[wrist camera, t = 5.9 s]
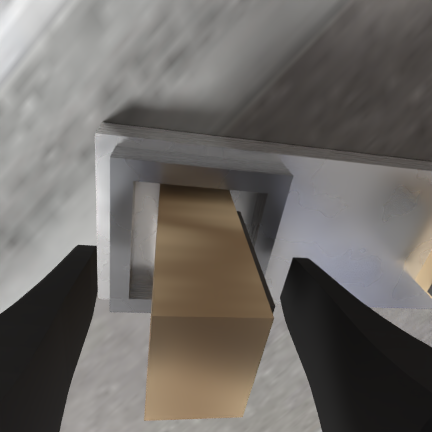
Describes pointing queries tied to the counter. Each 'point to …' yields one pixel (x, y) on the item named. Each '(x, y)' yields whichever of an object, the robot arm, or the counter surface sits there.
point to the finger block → (204, 308)
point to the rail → (267, 211)
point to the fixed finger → (426, 276)
